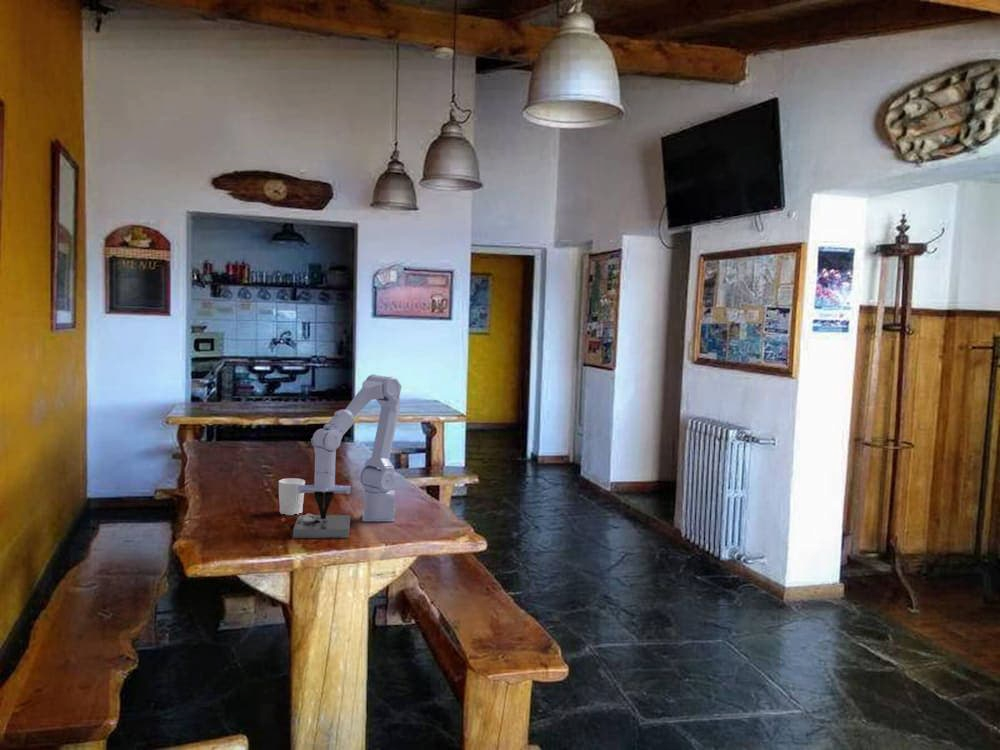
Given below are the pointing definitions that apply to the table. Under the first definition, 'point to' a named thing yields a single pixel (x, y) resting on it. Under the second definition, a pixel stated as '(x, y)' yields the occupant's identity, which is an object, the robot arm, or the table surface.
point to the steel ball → (309, 519)
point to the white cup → (290, 496)
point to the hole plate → (323, 527)
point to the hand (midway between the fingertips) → (323, 518)
